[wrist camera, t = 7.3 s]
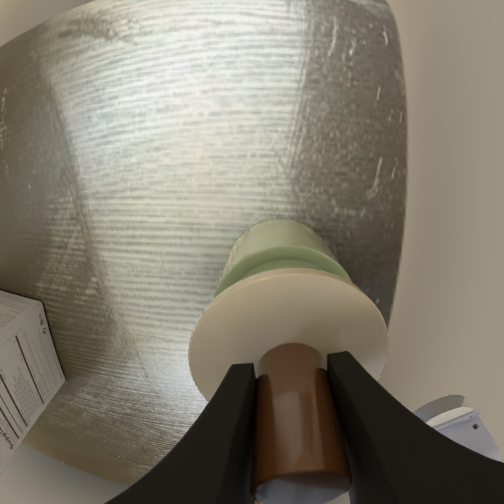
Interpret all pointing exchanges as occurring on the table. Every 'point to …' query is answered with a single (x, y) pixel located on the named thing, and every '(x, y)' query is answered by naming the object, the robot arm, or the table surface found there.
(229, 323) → the lid
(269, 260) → the jar
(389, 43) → the table surface
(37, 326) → the white product box
